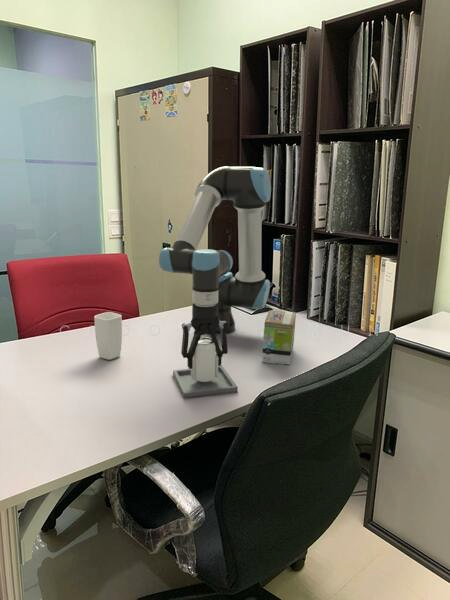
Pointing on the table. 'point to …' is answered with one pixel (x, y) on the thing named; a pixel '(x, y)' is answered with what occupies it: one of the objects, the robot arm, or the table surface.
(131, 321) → the table surface
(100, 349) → the cup
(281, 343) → the tea box
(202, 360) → the can
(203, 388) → the tray
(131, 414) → the table surface
